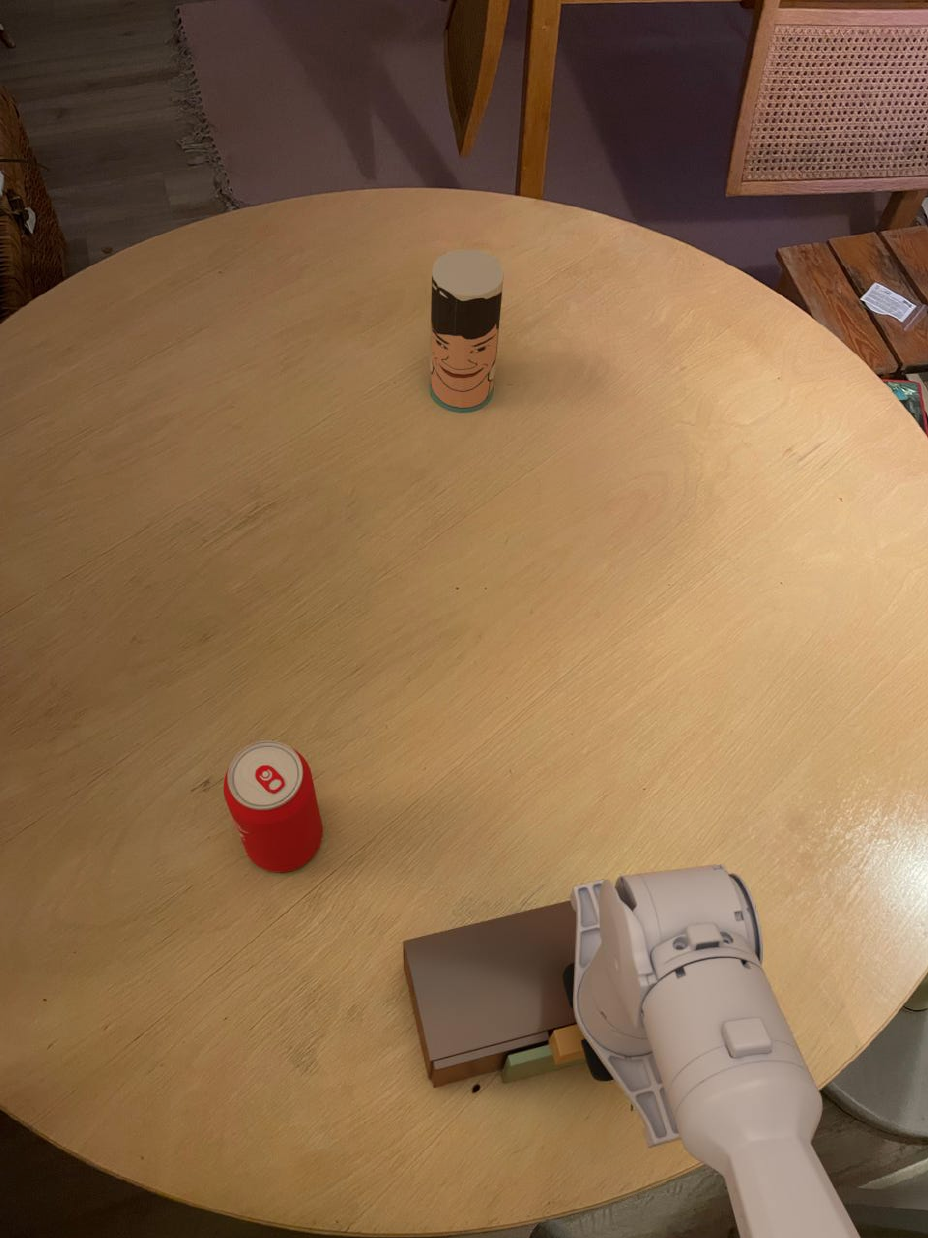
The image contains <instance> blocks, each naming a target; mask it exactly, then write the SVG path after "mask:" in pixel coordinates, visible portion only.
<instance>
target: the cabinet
mask: <svg viewBox="0 0 928 1238" xmlns="http://www.w3.org/2000/svg"><path fill="white" fill-rule="evenodd" d="M575 945H576V911H574V909H573V907H572V904H571V900H570V899H569V900H566V901H562V902H558V903H554V904H548V905H545V906H541V907H537V908H532V909H529V910H525V911H520V912H517V913H513V914H512V913H511V914H508V915H504V916H500V917H497V918H492V919H488V920H484V921H480V922H476V923H472V924H468V925H464V926H463V925H462V926H460V927H455V928H452V929H447V930H443V931H438V932H435V933H431V934H426V935H424V936H423V935H422V936H419V937H415V938H410V939H407V940H406V939H405V940H403V941H402V947H403V949H402V950H403V951H402V952H403V954H402V955H403V971H404V975H405V980H406V984H407V988H408V989H407V990H408V992H409V997H410V1001H411V1006H412V1011H413V1015H414V1021H415V1025H416V1030H417V1034H418V1038H419V1039H418V1040H419V1043H420V1047H421V1051H422V1052H421V1053H422V1056H423V1061H424V1065H425V1070H426V1074H427V1078H428V1080H431V1085H432V1088H439V1087H442V1086H446V1085H449V1084H454V1083H457V1082H460V1081H464V1080H468V1079H471V1078H475V1077H480V1076H483V1075H486V1074H490V1073H494V1072H497V1071H502V1070H503V1068H504V1065H505V1063H506V1060H507V1057H508V1056H509V1055H511V1054H515V1053H519V1052H523V1051H526V1050H530V1049H534V1048H538V1047H541V1046H545V1045H549V1039H550V1037H551V1035H552V1033H553V1031H554V1030H557V1029H561V1028H565V1027H569V1026H572V1025H576V1024H577V1021H576V1018H575V1014H574V1008H571V1007H570V1004H569V1001H568V997H567V994H566V990H565V987H564V984H563V979H562V975H563V972H564V970H565V969H566V967H567V966H568V965H569V964H571V963H573V962H575Z"/></svg>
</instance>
